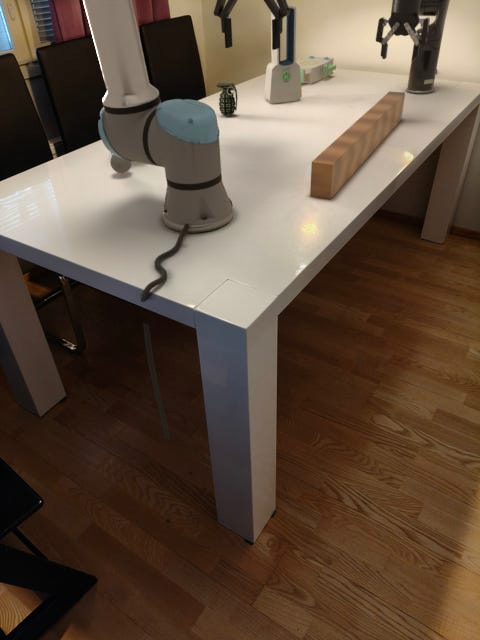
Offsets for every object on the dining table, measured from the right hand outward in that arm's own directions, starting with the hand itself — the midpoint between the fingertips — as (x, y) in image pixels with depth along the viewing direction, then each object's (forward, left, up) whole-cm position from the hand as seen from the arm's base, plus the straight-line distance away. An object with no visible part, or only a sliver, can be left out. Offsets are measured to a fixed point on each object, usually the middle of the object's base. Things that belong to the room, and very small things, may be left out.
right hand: (398, 59), depth 143 cm
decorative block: (-51, -49, -18) cm, 73 cm away
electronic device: (-15, -44, -18) cm, 50 cm away
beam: (+28, 0, -18) cm, 34 cm away
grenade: (+9, -54, -18) cm, 57 cm away
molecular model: (+55, -55, -18) cm, 80 cm away
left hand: (+35, -30, +7) cm, 47 cm away
